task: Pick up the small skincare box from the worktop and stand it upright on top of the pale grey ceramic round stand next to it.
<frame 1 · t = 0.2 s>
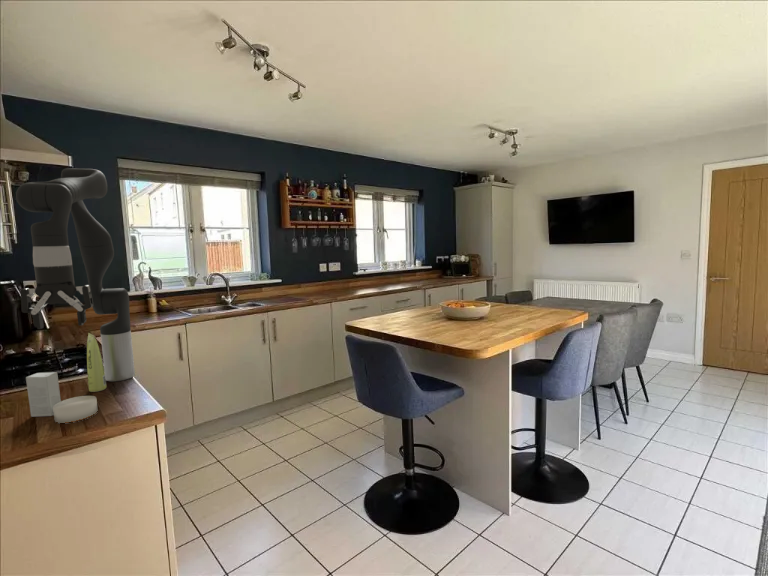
hand: (61, 326, 103), 29 cm above the counter, tool pointing down, fingers open, 8 cm apart
stand: (76, 415, 116), on the counter
tube: (97, 390, 136), on the counter
skincare box: (46, 414, 118), on the counter
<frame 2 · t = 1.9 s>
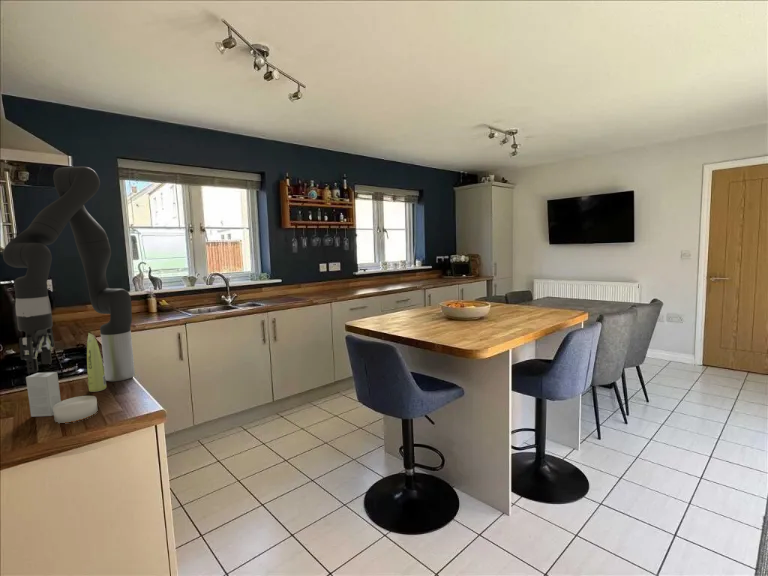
hand: (40, 367, 116), 14 cm above the counter, tool pointing down, fingers open, 8 cm apart
nothing on the counter moved.
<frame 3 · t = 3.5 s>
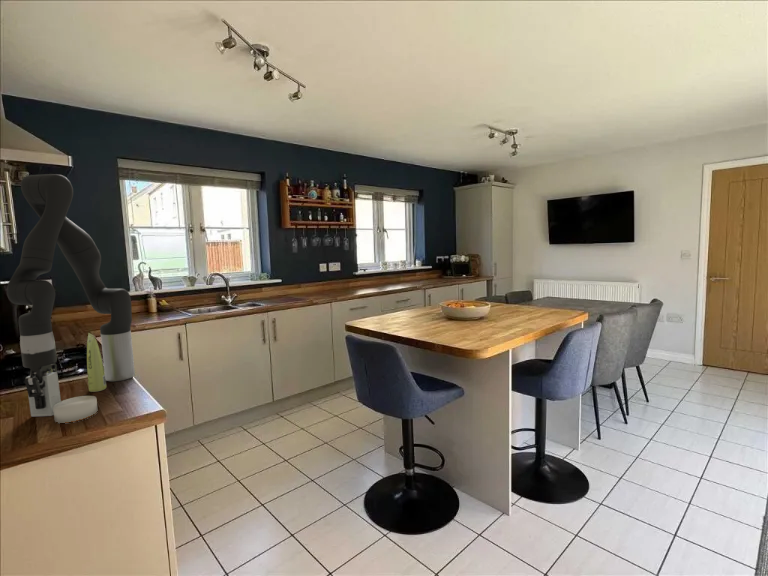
hand: (45, 404, 117), 3 cm above the counter, tool pointing down, fingers closed on skincare box, 5 cm apart
skincare box: (46, 414, 118), on the counter, touching gripper
everything else where it was.
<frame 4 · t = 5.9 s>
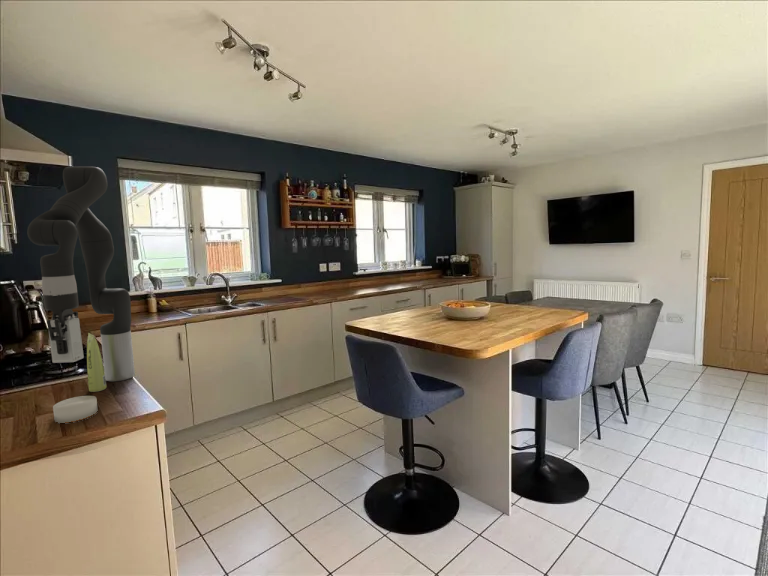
hand: (67, 350, 114), 19 cm above the counter, tool pointing down, fingers closed on skincare box, 5 cm apart
skincare box: (68, 361, 114), point 16 cm above the counter, touching gripper
everything else where it was.
when the fingers open (8 cm above the counter, at t = 8.4 s): skincare box drops 1 cm, resting on stand.
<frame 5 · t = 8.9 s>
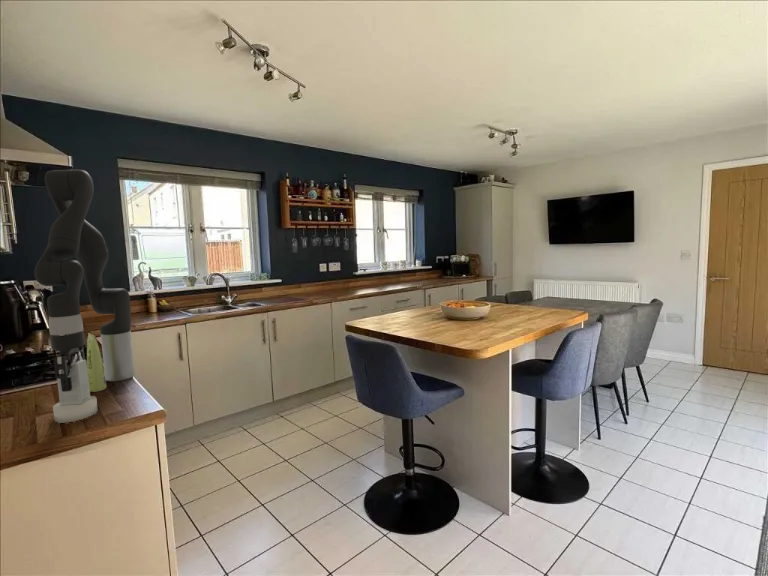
hand: (73, 385, 115), 9 cm above the counter, tool pointing down, fingers open, 8 cm apart
skincare box: (75, 402, 116), point 4 cm above the counter, touching stand
everything else where it was.
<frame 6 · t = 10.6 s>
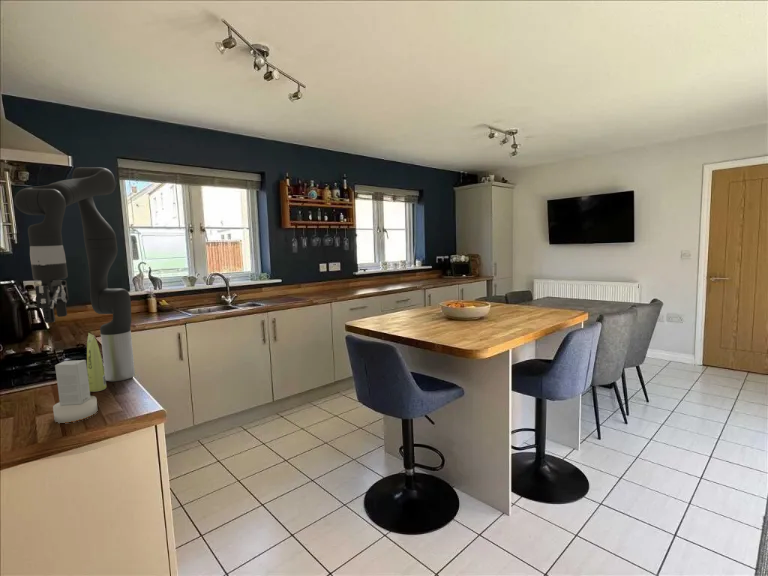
hand: (56, 319, 113), 29 cm above the counter, tool pointing down, fingers open, 8 cm apart
nothing on the counter moved.
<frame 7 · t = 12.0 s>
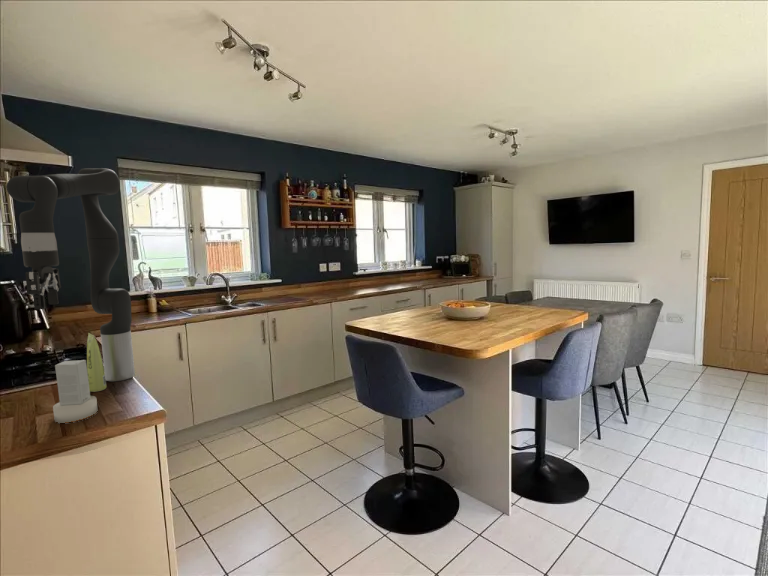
hand: (47, 306, 113), 32 cm above the counter, tool pointing down, fingers open, 8 cm apart
nothing on the counter moved.
at the end: skincare box 0.2 cm off-centre on the stand, point 3.8 cm above the stand's base; skincare box tilted 0°; the gripper is holding nothing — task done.
